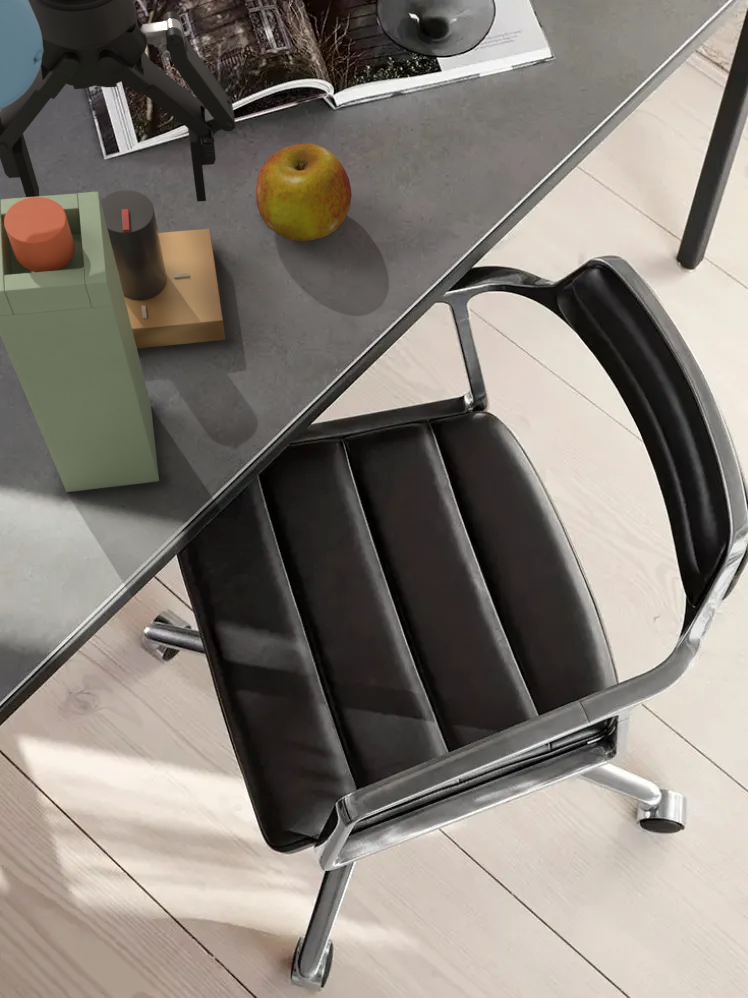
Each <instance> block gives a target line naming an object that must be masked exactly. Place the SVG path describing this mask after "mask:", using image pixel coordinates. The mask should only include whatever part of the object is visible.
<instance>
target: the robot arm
mask: <svg viewBox="0 0 748 998" xmlns="http://www.w3.org/2000/svg"><path fill="white" fill-rule="evenodd" d="M182 24H183V23H182V20H181V16H180V14H178V12H176V11H174V10H173V11H171V10H170V11H167V12H166V13H164V15H163V21H156V22H149V23H143V22H142V21H141V20H140V19H139V16H138V15H137V10H136V5H135V0H0V163H1V166H2V169H3V172H4V174H5V175H6V177H7V178H8V179H15V178H16V179H17V178H18V179H20V182H21V185H22V188H23V192H24V195H25V197H37V196H40V187H39V184H38V180H37V177H36V174H35V170H34V167H33V166H34V165H33V162H32V160H31V156H30V151H29V149H28V145H27V142H26V139H25V136H24V133H25V132H26V131H27V129H28V128H29V126H30V125H31V124H32V122H34V120H35V119H36V118H37V116H38V115H39V113H40V112H41V111H42V110H43V108H45V106H46V105H47V103H49V101H50V100H51V99H52V100H54V99H55V98H56V97H57V96H58V95H59V94H60V92H61V91H62V90H63V88H65V86H66V85H68V86H73V90H85V89H88V88H92V87H101V88H117V87H118V86H117V84H120V83H122V84H124V85H125V86H126V87H127V88H129V89H131V90H132V91H133V92H134V93H136V94H138V95H141V94H142V95H144V96H145V97H147V98H148V99H149V100H150V101H152V102H153V103H154V104H156V105H157V106H158V107H159V108H161V109H162V110H164V112H166V113H168V114H169V115H170V116H171V117H173V118H174V119H175V120H177V121H178V122H179V123H181V124H182V125H183V126H185V127H186V128H187V133H188V140H189V147H190V148H189V149H190V158H191V164H192V173H193V180H194V181H193V183H194V188H195V189H194V190H195V195H196V202H206V201H207V196H206V187H205V179H204V178H205V177H204V168H203V166H209V165H211V166H212V165H214V164H215V162H216V160H217V159H216V149H215V135H216V133H217V132H218V131H221V130H222V131H224V132H232V131H233V130H235V129H236V125H237V124H236V119H235V112H234V106H233V102H232V99H231V98H230V97H229V95H228V94H227V93H226V91H225V90H224V89H223V87H222V86H221V85H220V83H219V82H218V81H217V79H216V77H215V76H214V75H213V74H212V72H211V71H210V69H209V68H208V66H207V64H205V62H204V61H203V60H202V58H201V57H200V55H199V54H198V53H197V51H196V49H194V47H193V46H192V44H191V43H190V41H189V40H188V39H187V37H186V36H185V31H184V28H183V25H182ZM148 45H151V46H152V45H153V46H154V47H156V48H157V50H158V52H160V53H161V54H162V56H163V57H164V58H170V60H171V63H172V64H173V67H174V68H175V69H176V71H177V72H178V74H179V75H180V77H181V78H182V79H183V80H184V82H185V83H186V84H187V86H188V87H189V88H190V89H191V91H192V92H193V94H194V95H195V96H194V95H193V94H192V93H191V92H190V91H189V90H187V89H186V88H185V87H184V86H182V85H181V84H180V83H178V81H176V80H175V79H174V78H172V77H171V76H170V75H169V74H167V73H166V72H165V71H164V70H162V69H161V68H160V67H159V66H157V65H156V63H154V62H153V61H152V60H150V58H149V56H148V54H147V53H146V52H145V51H146V49H147V48H148V47H147V46H148Z"/></svg>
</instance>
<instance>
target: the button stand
mask: <svg viewBox="0 0 748 998" xmlns="http://www.w3.org/2000/svg"><path fill="white" fill-rule="evenodd" d="M37 197H43V198H48V199H51V200H53V201H55V202H56V203H58V204H59V205H60V206H61V207H62V208H63V209H64V211H65V214H66V217H67V220H68V224H69V227H70V230H71V234H72V237H73V241H74V245H75V252H74V255H73V258H72V259H71V261H70V262H69V263H68V264H67V265H66V266H65V267H63V268H61V269H59V270H57V271H45V272H33V271H30V270H28V269H26V268H24V267H23V266H22V265H21V264H20V263H19V262H18V261H17V259H16V257H15V254H14V251H13V248H12V246H11V243H10V240H9V237H8V235H7V232H6V229H5V226H4V219H5V215H6V213H7V211H8V210H9V208H10V207H11V206H12V205H14V204H15V203H17V202H18V201H20V200H23V199H26V198H31V197H26V196H25V197H12V198H1V199H0V337H1V340H2V342H3V344H4V347H5V350H6V352H7V354H8V357H9V359H10V361H11V365H12V366H13V369H14V371H15V373H16V375H17V379H18V380H19V382H20V385H21V387H22V390H23V392H24V394H25V395H24V396H25V397H26V399H27V402H28V404H29V406H30V409H31V411H32V414H33V416H34V418H35V421H36V423H37V425H38V428H39V430H40V433H41V435H42V437H43V440H44V443H45V445H46V447H47V450H48V451H49V454H50V456H51V459H52V461H53V464H54V466H55V468H56V471H57V474H58V477H60V480H61V483H62V485H63V487H64V490H65V492H66V493H73V492H80V491H89V490H96V489H105V488H106V489H107V488H115V487H122V486H129V485H130V486H131V485H139V484H147V483H155V482H157V483H158V482H159V481H160V478H159V477H160V476H159V469H158V468H159V467H158V459H157V448H156V440H155V438H156V437H155V430H154V421H153V411H152V405H151V404H152V403H151V400H150V398H149V392H148V388H147V384H146V380H145V376H144V372H143V368H142V363H141V359H140V356H139V355H140V354H139V352H138V348H137V347H136V343H135V339H134V335H133V331H132V327H131V323H130V319H129V315H128V311H127V306H126V302H125V298H124V294H123V290H122V286H121V282H120V278H119V274H118V270H117V266H116V262H115V258H114V254H113V250H112V245H111V241H110V237H109V233H108V229H107V225H106V221H105V217H104V213H103V209H102V205H101V196H100V193H99V191H87V192H77V193H64V194H52V195H39V196H37Z"/></svg>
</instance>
